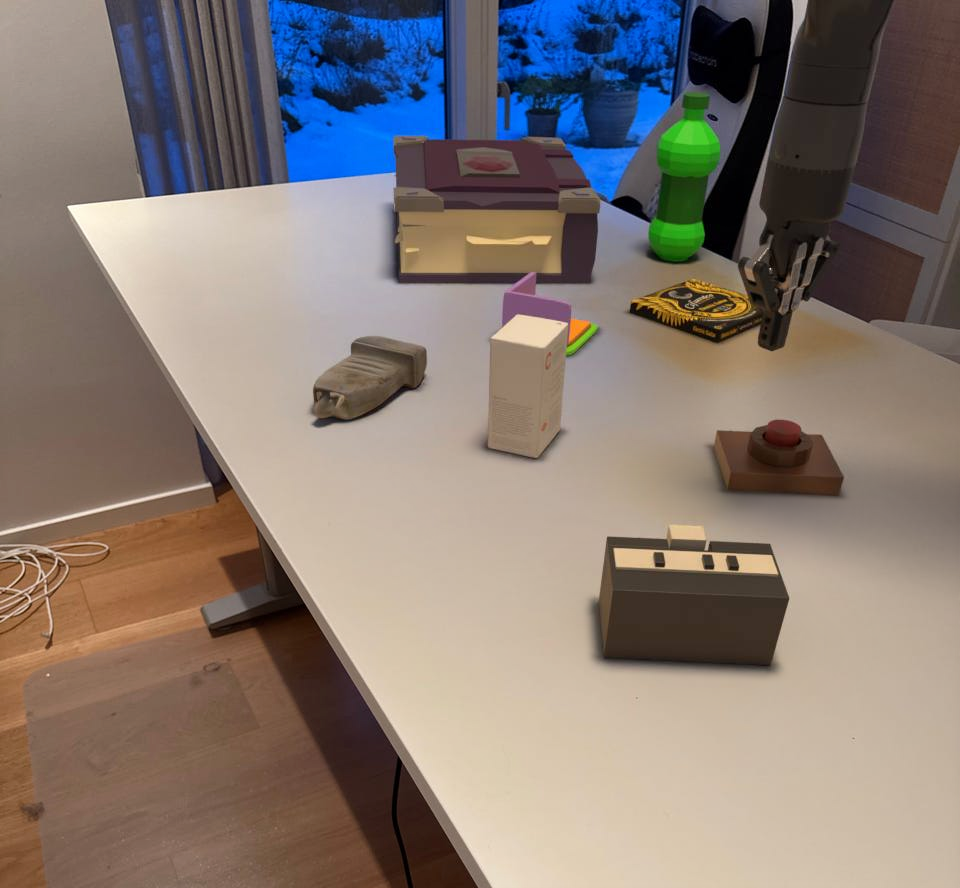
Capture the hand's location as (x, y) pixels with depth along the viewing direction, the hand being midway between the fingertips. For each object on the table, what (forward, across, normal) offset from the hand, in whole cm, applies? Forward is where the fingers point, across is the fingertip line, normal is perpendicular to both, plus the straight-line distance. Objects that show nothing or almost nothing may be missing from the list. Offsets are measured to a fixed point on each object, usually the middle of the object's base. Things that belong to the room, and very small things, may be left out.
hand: (770, 347), depth 95 cm
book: (+15, +32, +84) cm, 91 cm away
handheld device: (+15, -21, +42) cm, 50 cm away
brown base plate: (+15, +5, 0) cm, 16 cm away
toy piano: (+15, -25, -14) cm, 32 cm away
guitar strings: (+15, +37, +37) cm, 54 cm away
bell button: (+12, +5, -1) cm, 13 cm away
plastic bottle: (+15, +54, +59) cm, 82 cm away
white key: (+10, -22, -11) cm, 27 cm away
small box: (+15, -13, +22) cm, 30 cm away
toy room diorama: (+15, +11, +45) cm, 49 cm away
